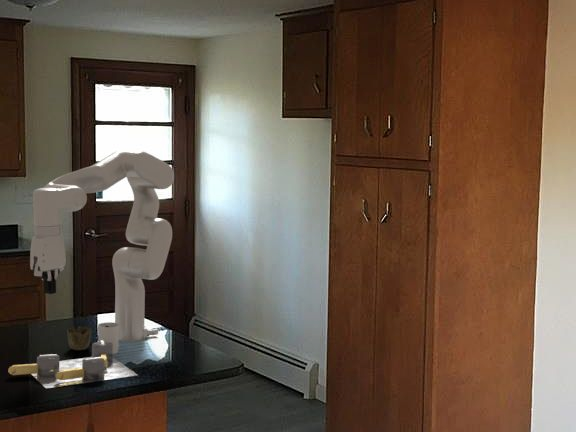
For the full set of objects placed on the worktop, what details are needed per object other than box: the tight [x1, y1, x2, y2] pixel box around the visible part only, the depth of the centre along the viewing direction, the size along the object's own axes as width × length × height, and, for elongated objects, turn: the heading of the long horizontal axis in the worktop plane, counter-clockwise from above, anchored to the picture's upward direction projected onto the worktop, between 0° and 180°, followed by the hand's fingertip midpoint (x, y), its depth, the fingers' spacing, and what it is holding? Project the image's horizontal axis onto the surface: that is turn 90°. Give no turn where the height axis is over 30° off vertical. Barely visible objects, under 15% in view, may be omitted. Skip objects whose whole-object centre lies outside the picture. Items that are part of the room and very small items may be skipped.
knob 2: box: [91, 340, 114, 367], centre depth 240 cm, size 14×6×6 cm, turn 16°
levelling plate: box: [30, 356, 138, 389], centre depth 234 cm, size 26×23×2 cm
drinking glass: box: [97, 321, 120, 355], centre depth 254 cm, size 7×7×10 cm
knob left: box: [55, 356, 105, 382], centre depth 225 cm, size 14×6×6 cm, turn 123°
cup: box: [66, 325, 92, 352], centre depth 255 cm, size 8×7×8 cm
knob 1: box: [7, 353, 60, 378], centre depth 227 cm, size 14×6×6 cm, turn 111°
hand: (50, 292), depth 239 cm, fingers closed
